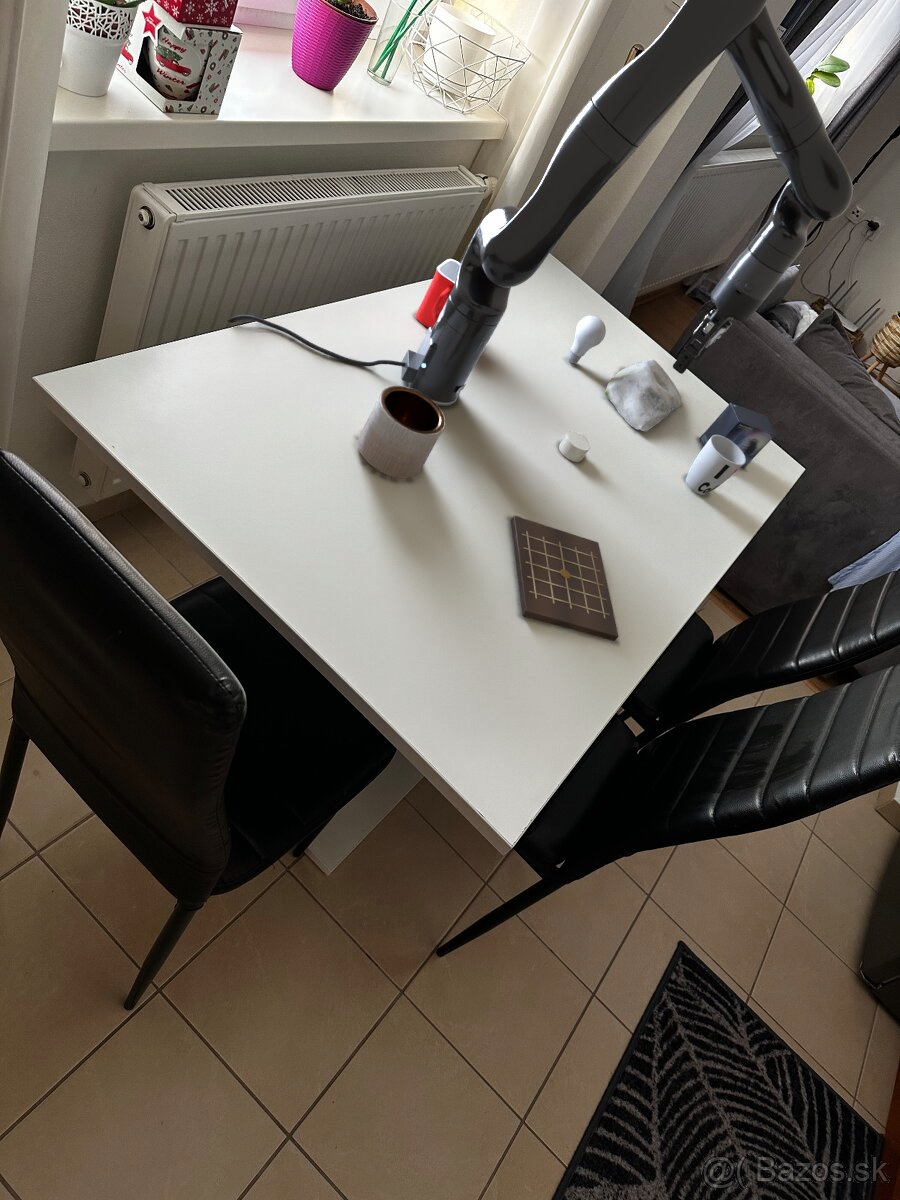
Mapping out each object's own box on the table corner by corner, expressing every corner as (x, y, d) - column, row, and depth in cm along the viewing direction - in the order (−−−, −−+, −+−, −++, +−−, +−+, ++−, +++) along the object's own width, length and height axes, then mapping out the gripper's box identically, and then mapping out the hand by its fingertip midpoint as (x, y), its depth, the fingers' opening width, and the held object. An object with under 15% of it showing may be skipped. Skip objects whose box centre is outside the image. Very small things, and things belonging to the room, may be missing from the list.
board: (522, 615, 124) (526, 610, 123) (510, 520, 137) (514, 514, 136) (614, 641, 130) (619, 636, 129) (594, 546, 143) (598, 541, 142)
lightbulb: (587, 367, 183) (615, 324, 175) (576, 374, 178) (604, 331, 171) (565, 349, 183) (592, 306, 176) (553, 356, 179) (581, 313, 171)
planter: (380, 422, 138) (403, 376, 132) (432, 463, 138) (458, 419, 131) (343, 446, 130) (365, 398, 124) (397, 490, 130) (423, 444, 123)
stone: (647, 345, 193) (697, 389, 192) (626, 371, 198) (676, 413, 196) (610, 362, 171) (667, 411, 169) (588, 391, 175) (643, 439, 174)
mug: (427, 303, 169) (450, 256, 162) (462, 327, 170) (486, 281, 162) (403, 323, 161) (425, 275, 153) (439, 348, 161) (463, 301, 154)
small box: (706, 458, 181) (739, 421, 174) (697, 437, 185) (729, 401, 178) (744, 470, 185) (778, 434, 178) (735, 450, 189) (767, 414, 182)
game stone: (560, 457, 156) (569, 445, 154) (557, 439, 159) (565, 427, 157) (583, 465, 157) (592, 453, 155) (580, 447, 161) (588, 436, 159)
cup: (694, 501, 167) (726, 464, 160) (672, 470, 171) (703, 434, 164) (719, 500, 172) (753, 465, 165) (698, 471, 175) (729, 435, 169)
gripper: (740, 261, 142) (681, 340, 153) (716, 277, 131) (654, 360, 142) (776, 289, 141) (713, 367, 152) (754, 307, 131) (689, 389, 141)
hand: (685, 363), depth 147 cm, fingers open, 8 cm apart
